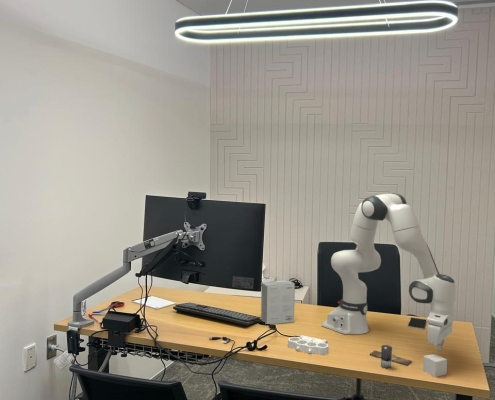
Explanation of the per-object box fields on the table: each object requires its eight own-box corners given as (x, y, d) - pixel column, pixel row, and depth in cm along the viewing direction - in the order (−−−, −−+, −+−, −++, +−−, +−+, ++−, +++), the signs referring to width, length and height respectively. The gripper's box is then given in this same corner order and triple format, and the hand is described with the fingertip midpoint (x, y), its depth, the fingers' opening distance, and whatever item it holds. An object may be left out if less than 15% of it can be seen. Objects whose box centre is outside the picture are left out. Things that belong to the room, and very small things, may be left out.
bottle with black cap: (378, 366, 187) (379, 347, 186) (383, 363, 190) (384, 344, 189) (388, 369, 184) (389, 349, 184) (392, 366, 187) (393, 346, 187)
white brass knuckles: (334, 347, 207) (323, 358, 195) (296, 339, 216) (283, 349, 203) (334, 339, 207) (323, 350, 194) (296, 332, 216) (283, 342, 203)
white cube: (422, 371, 184) (423, 356, 183) (433, 368, 187) (434, 353, 186) (435, 377, 178) (435, 361, 178) (446, 374, 181) (447, 359, 181)
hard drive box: (288, 318, 245) (289, 280, 244) (294, 322, 238) (295, 283, 237) (260, 320, 240) (261, 281, 239) (265, 325, 233) (266, 285, 232)
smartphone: (407, 326, 235) (410, 317, 249) (407, 328, 235) (410, 319, 249) (424, 328, 232) (426, 319, 245) (424, 331, 232) (426, 321, 246)
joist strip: (369, 355, 198) (369, 353, 198) (375, 351, 202) (375, 349, 202) (406, 366, 188) (406, 364, 188) (412, 361, 192) (412, 360, 192)
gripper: (442, 307, 200) (439, 339, 202) (425, 319, 185) (422, 353, 186) (457, 311, 196) (455, 343, 198) (442, 323, 181) (439, 358, 182)
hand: (439, 348), depth 192 cm, fingers closed
